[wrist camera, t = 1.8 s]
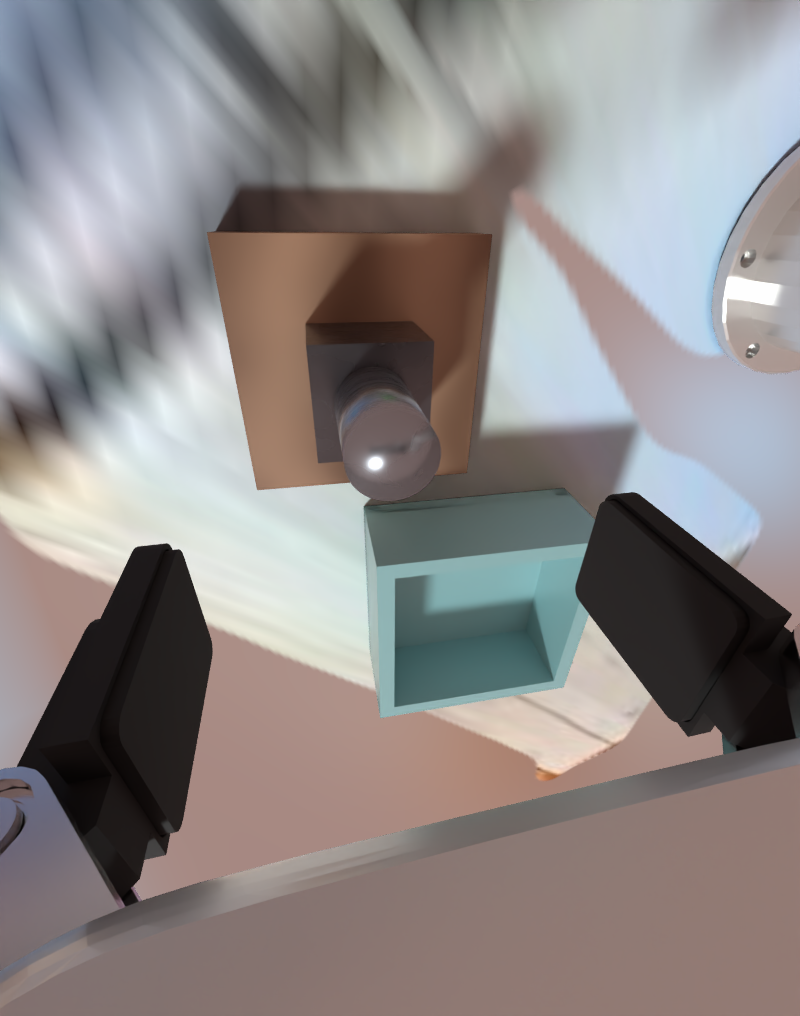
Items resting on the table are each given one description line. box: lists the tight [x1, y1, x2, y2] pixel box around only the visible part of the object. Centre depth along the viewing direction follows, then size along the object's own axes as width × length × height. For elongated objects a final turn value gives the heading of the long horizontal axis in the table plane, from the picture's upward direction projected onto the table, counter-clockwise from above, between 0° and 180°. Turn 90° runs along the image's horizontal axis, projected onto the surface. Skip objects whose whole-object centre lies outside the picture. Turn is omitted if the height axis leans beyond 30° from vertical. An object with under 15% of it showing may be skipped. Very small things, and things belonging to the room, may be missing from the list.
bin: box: [364, 488, 595, 718], centre depth 31 cm, size 14×14×6 cm
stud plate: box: [207, 231, 492, 490], centre depth 22 cm, size 12×12×5 cm
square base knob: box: [305, 321, 441, 501], centre depth 18 cm, size 5×5×9 cm
